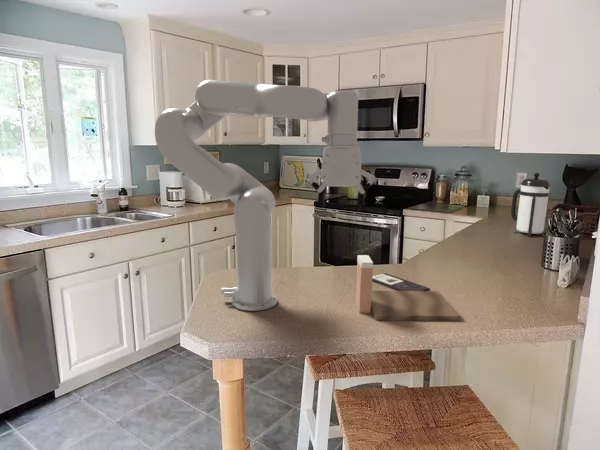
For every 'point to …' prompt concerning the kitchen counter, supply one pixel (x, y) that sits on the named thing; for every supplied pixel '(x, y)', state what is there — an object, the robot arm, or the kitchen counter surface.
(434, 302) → the board
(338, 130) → the robot arm
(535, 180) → the coffee press
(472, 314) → the kitchen counter surface
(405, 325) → the kitchen counter surface
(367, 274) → the slab
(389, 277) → the chocolate bar
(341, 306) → the kitchen counter surface
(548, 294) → the kitchen counter surface
